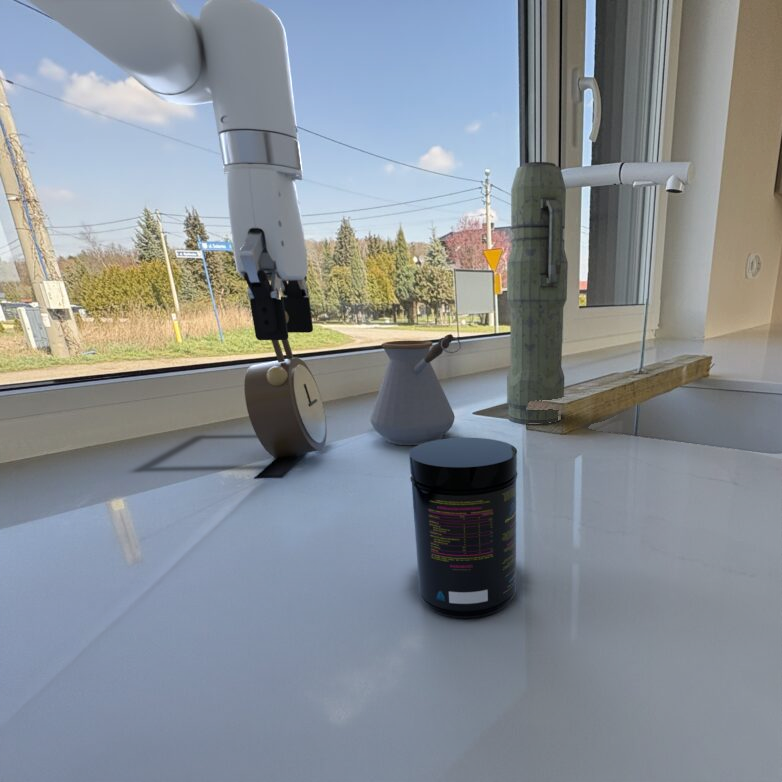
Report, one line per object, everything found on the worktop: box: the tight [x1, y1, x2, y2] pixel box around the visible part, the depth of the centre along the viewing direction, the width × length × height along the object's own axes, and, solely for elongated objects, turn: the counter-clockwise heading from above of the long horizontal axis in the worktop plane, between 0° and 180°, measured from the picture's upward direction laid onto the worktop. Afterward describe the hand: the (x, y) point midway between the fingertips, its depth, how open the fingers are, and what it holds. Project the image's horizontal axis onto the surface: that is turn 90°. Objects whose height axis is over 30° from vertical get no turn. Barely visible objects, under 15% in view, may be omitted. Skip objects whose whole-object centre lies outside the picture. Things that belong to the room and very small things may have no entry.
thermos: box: [506, 161, 569, 425], centre depth 84 cm, size 9×12×35 cm
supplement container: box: [408, 437, 518, 620], centre depth 37 cm, size 7×7×10 cm
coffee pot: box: [369, 333, 462, 446], centre depth 72 cm, size 21×12×15 cm, turn 28°
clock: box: [243, 311, 328, 458], centre depth 66 cm, size 16×11×5 cm
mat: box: [253, 453, 307, 479], centre depth 69 cm, size 15×14×1 cm
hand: (287, 335), depth 64 cm, fingers open, 9 cm apart
